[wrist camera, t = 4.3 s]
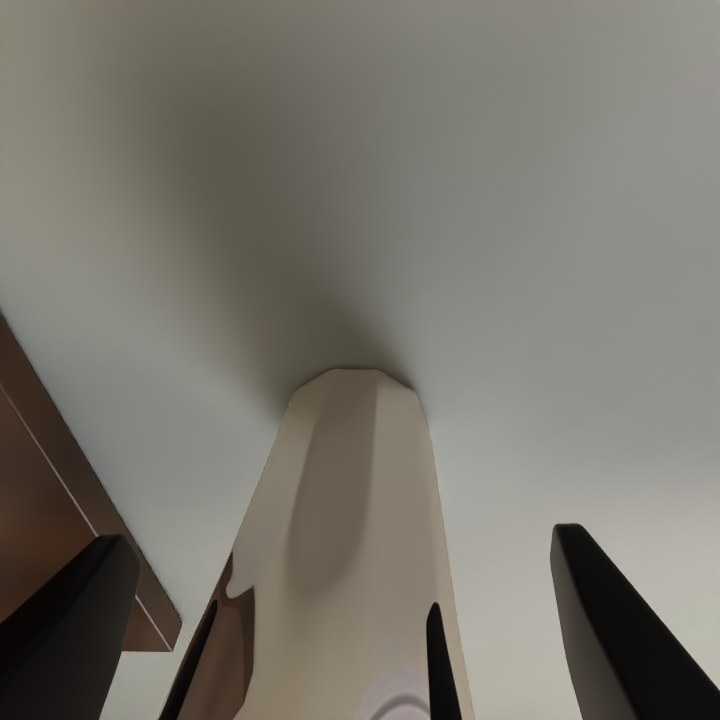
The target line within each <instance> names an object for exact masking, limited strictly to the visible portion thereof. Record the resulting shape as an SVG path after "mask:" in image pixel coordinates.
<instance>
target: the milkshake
mask: <svg viewBox="0 0 720 720" xmlns="http://www.w3.org/2000/svg"><path fill="white" fill-rule="evenodd" d="M156 720H475V717H474V711H473V705H472V700H471V694H470V688H469V683H468V677H467V672H466V666H465V661H464V655H463V649H462V643H461V637H460V631H459V624H458V617H457V610H456V604H455V597H454V590H453V583H452V576H451V569H450V562H449V555H448V548H447V541H446V534H445V527H444V520H443V514H442V507H441V500H440V493H439V486H438V479H437V472H436V465H435V458H434V451H433V444H432V438H431V432H430V427H429V425H428V422H427V419H426V417H425V414H424V411H423V409H422V406H421V403H420V401H419V398H418V395H417V393H416V392H414V391H413V390H411V389H409V388H408V387H406V386H404V385H403V384H401V383H399V382H398V381H396V380H394V379H393V378H391V377H389V376H388V375H386V374H385V373H383V372H381V371H380V370H362V369H330V370H328V371H327V372H325V373H323V374H322V375H320V376H318V377H317V378H315V379H313V380H311V381H310V382H308V383H306V384H305V385H303V386H301V387H300V388H298V389H296V390H295V392H294V394H293V396H292V398H291V401H290V403H289V406H288V408H287V411H286V413H285V416H284V418H283V421H282V423H281V426H280V428H279V431H278V433H277V436H276V438H275V441H274V443H273V446H272V448H271V451H270V453H269V456H268V458H267V461H266V463H265V466H264V468H263V471H262V473H261V476H260V478H259V481H258V483H257V486H256V488H255V491H254V493H253V496H252V498H251V501H250V503H249V506H248V508H247V511H246V513H245V516H244V518H243V521H242V523H241V526H240V528H239V531H238V533H237V536H236V538H235V541H234V543H233V546H232V548H231V551H230V553H229V556H228V558H227V560H226V563H225V565H224V568H223V570H222V573H221V575H220V577H219V580H218V582H217V585H216V587H215V589H214V591H213V594H212V596H211V598H210V600H209V603H208V605H207V607H206V609H205V611H204V614H203V616H202V618H201V620H200V622H199V625H198V627H197V629H196V631H195V633H194V635H193V638H192V640H191V642H190V644H189V647H188V649H187V651H186V653H185V655H184V658H183V660H182V662H181V664H180V667H179V669H178V671H177V674H176V676H175V678H174V680H173V683H172V685H171V687H170V689H169V692H168V694H167V696H166V699H165V701H164V703H163V705H162V708H161V710H160V712H159V714H158V717H157V719H156Z"/></svg>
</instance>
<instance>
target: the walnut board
mask: <svg viewBox="0 0 720 720" xmlns="http://www.w3.org/2000/svg"><path fill="white" fill-rule="evenodd" d="M105 533H122V534H124V535H126V536H127V538H128V539H129V541H130V543H131V544H132V546H133V548H134V549H135V551H136V553H137V555H138V556H139V558H140V560H141V567H142V568H141V575H140V580H139V584H138V588H137V592H136V596H135V600H134V604H133V608H132V612H131V616H130V620H129V625H128V629H127V633H126V637H125V641H124V645H123V649H122V651H136V652H172V651H173V650H174V647H175V644H176V641H177V638H178V635H179V632H180V630H181V627H182V621H181V620H180V618H179V616H178V615H177V613H176V611H175V610H174V608H173V606H172V604H171V603H170V601H169V599H168V598H167V596H166V594H165V593H164V591H163V589H162V588H161V586H160V584H159V582H158V581H157V579H156V577H155V576H154V574H153V572H152V571H151V569H150V567H149V566H148V564H147V562H146V560H145V559H144V557H143V555H142V554H141V552H140V550H139V549H138V547H137V545H136V544H135V542H134V540H133V538H132V537H131V535H130V533H129V532H128V530H127V528H126V527H125V525H124V523H123V522H122V520H121V518H120V516H119V515H118V513H117V511H116V510H115V508H114V506H113V505H112V503H111V501H110V500H109V498H108V496H107V494H106V493H105V491H104V489H103V488H102V486H101V484H100V483H99V481H98V479H97V478H96V476H95V474H94V472H93V471H92V469H91V467H90V466H89V464H88V462H87V461H86V459H85V457H84V456H83V454H82V452H81V450H80V449H79V447H78V445H77V444H76V442H75V440H74V439H73V437H72V435H71V433H70V432H69V430H68V428H67V427H66V425H65V423H64V422H63V420H62V418H61V417H60V415H59V413H58V411H57V410H56V408H55V406H54V405H53V403H52V401H51V400H50V398H49V396H48V395H47V393H46V391H45V389H44V388H43V386H42V384H41V383H40V381H39V379H38V378H37V376H36V374H35V373H34V371H33V369H32V367H31V366H30V364H29V362H28V361H27V359H26V357H25V356H24V354H23V352H22V351H21V349H20V347H19V345H18V344H17V342H16V340H15V339H14V337H13V335H12V334H11V332H10V330H9V329H8V327H7V325H6V323H5V322H4V320H3V318H2V317H1V315H0V623H1V622H3V621H4V620H5V619H6V618H7V617H8V616H9V615H10V614H11V613H13V612H14V611H15V610H16V609H17V608H18V607H19V606H20V605H21V604H23V603H24V602H25V601H26V600H27V599H28V598H29V597H30V596H32V595H33V594H34V593H35V592H36V591H37V590H38V589H39V588H40V587H42V586H43V585H44V584H45V583H46V582H47V581H48V580H49V579H50V578H52V577H53V576H54V575H55V574H56V573H57V572H58V571H59V570H60V569H62V568H63V567H64V566H65V565H66V564H67V563H68V562H69V561H70V560H72V559H73V558H74V557H75V556H76V555H77V554H78V553H79V552H81V551H82V550H83V549H84V548H85V547H86V546H87V545H88V544H89V543H91V542H92V541H93V540H94V539H95V538H96V537H98V536H99V535H101V534H105Z"/></svg>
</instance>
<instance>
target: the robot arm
mask: <svg viewBox="0 0 720 720" xmlns="http://www.w3.org/2000/svg"><path fill="white" fill-rule="evenodd" d="M550 563H551V571H552V577H553V583H554V589H555V595H556V601H557V607H558V613H559V619H560V625H561V631H562V637H563V643H564V649H565V654H566V659H567V664H568V668H569V672H570V676H571V680H572V683H573V687H574V690H575V694H576V697H577V701H578V704H579V708H580V712H581V715H582V719H583V720H720V690H719V689H718V688H717V687H716V686H715V684H714V683H713V682H712V681H711V680H710V678H709V677H708V676H707V675H706V674H705V672H704V671H703V670H702V669H701V668H700V666H699V665H698V664H697V663H696V662H695V660H694V659H693V658H692V657H691V656H690V654H689V653H688V652H687V651H686V649H685V648H684V647H683V646H682V645H681V643H680V642H679V641H678V640H677V639H676V637H675V636H674V635H673V634H672V633H671V631H670V630H669V629H668V628H667V627H666V625H665V624H664V623H663V622H662V621H661V619H660V618H659V617H658V616H657V615H656V613H655V612H654V611H653V610H652V609H651V607H650V606H649V605H648V604H647V603H646V601H645V600H644V599H643V598H642V597H641V595H640V594H639V593H638V592H637V591H636V589H635V588H634V587H633V586H632V585H631V583H630V582H629V581H628V580H627V579H626V577H625V576H624V575H623V574H622V573H621V571H620V570H619V569H618V568H617V567H616V565H615V564H614V563H613V562H612V561H611V559H610V558H609V557H608V556H607V555H606V553H605V552H604V551H603V550H602V549H601V547H600V546H599V545H598V544H597V543H596V541H595V540H594V539H593V538H592V537H591V535H590V534H589V533H588V532H587V530H586V529H585V528H584V527H583V526H582V525H580V524H577V523H570V524H556V525H555V526H554V528H553V533H552V542H551V551H550ZM141 568H142V567H141V560H140V558H139V556H138V555H137V553H136V551H135V549H134V548H133V546H132V544H131V543H130V541H129V539H128V538H127V536H126V535H124V534H122V533H105V534H101V535H99V536H98V537H96V538H95V539H94V540H93V541H92V542H91V543H89V544H88V545H87V546H86V547H85V548H84V549H83V550H82V551H81V552H79V553H78V554H77V555H76V556H75V557H74V558H73V559H72V560H70V561H69V562H68V563H67V564H66V565H65V566H64V567H63V568H62V569H60V570H59V571H58V572H57V573H56V574H55V575H54V576H53V577H52V578H50V579H49V580H48V581H47V582H46V583H45V584H44V585H43V586H42V587H40V588H39V589H38V590H37V591H36V592H35V593H34V594H33V595H32V596H30V597H29V598H28V599H27V600H26V601H25V602H24V603H23V604H21V605H20V606H19V607H18V608H17V609H16V610H15V611H14V612H13V613H11V614H10V615H9V616H8V617H7V618H6V619H5V620H4V621H3V622H1V623H0V720H99V717H100V714H101V712H102V709H103V706H104V703H105V700H106V697H107V694H108V692H109V689H110V686H111V683H112V680H113V677H114V674H115V672H116V668H117V665H118V662H119V659H120V656H121V652H122V649H123V645H124V641H125V637H126V633H127V629H128V625H129V620H130V616H131V612H132V608H133V604H134V600H135V596H136V592H137V588H138V584H139V580H140V575H141Z"/></svg>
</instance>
